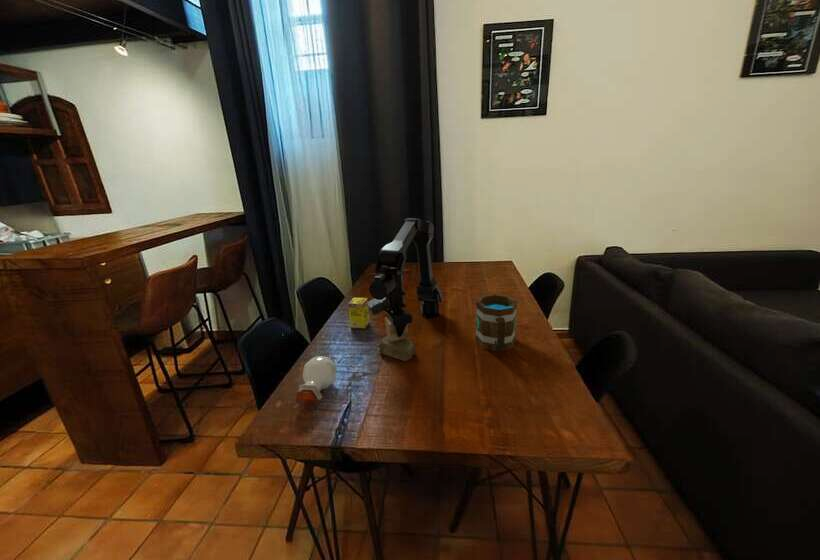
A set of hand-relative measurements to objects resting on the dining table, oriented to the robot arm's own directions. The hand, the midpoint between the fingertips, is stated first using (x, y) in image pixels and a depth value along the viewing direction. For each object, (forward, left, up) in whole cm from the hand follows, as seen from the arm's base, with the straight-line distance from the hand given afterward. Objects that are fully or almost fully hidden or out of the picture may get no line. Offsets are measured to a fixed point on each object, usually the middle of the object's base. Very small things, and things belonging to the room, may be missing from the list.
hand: (397, 332), depth 113 cm
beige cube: (0, 0, -1) cm, 1 cm away
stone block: (+1, +1, -8) cm, 8 cm away
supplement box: (+9, -24, -8) cm, 27 cm away
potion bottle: (+26, +13, -8) cm, 30 cm away
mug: (-32, +8, -8) cm, 34 cm away
